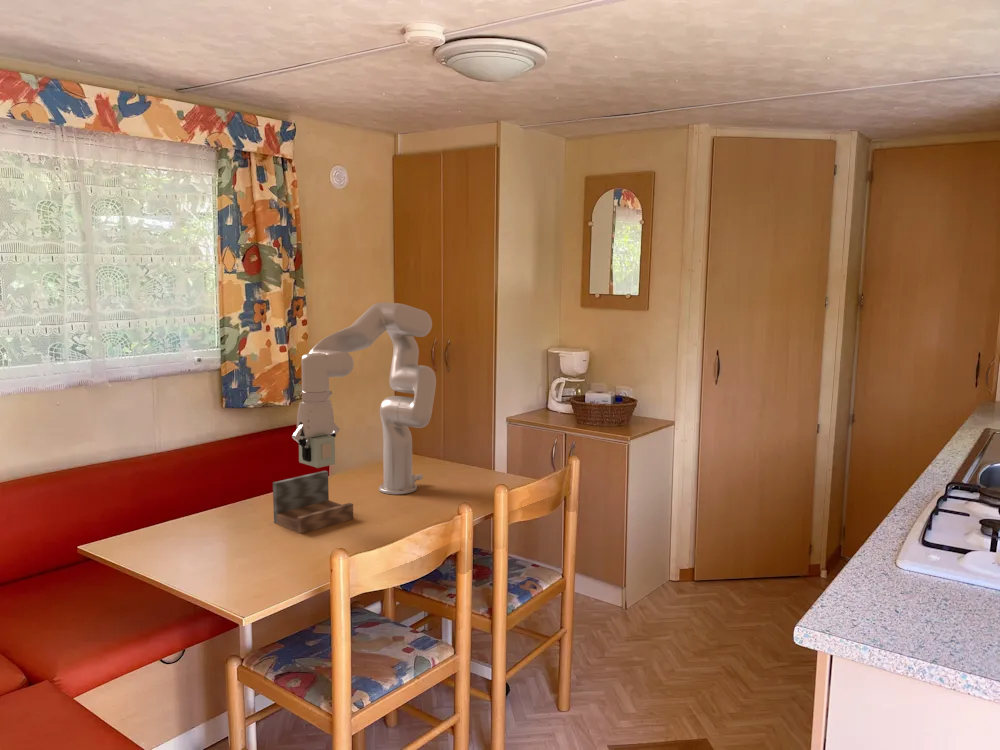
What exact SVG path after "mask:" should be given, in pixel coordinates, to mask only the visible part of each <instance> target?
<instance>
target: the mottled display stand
mask: <svg viewBox="0 0 1000 750" xmlns="http://www.w3.org/2000/svg"><path fill="white" fill-rule="evenodd" d="M272 496H273V501H272V502H273V503H272V504H273V524H274V523H275V524H276V525H279V526H281V527H284V528H286V529H289V530H291V531H293V532H296V533H298V534H300V535H303V534H305V533H309V532H311V531H316V530H320V529H323V528H326V527H329V526H333V525H336V524H339V523H340V524H341V523H343V522H346V521H350V520H353V519H354V504H353V503H351V502H348V503H344V504H341V503H338V502H335V501H332V500H329V497H330V496H329V471H327V470H322V471H316V472H313V473H308V474H303V475H299V476H294V477H291V478H286V479H283V480H278V481H273V482H272Z"/></svg>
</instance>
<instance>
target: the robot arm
mask: <svg viewBox="0 0 1000 750" xmlns="http://www.w3.org/2000/svg"><path fill="white" fill-rule="evenodd" d="M432 320H433V319H432V317H431V316H430V314H429V313H428V311H426V310H423V309H420V308H417V307H414V306H411V305H408V304H404V303H398V302H376V303H373V304H372V305H371V306H370V307H368V308H367V309H366V310H365V311H364V312H363V313H362V315H360V316H359V317H358V318H357V319H356V320H355V321H354V322H353V323H352V324H351V325H349V326H347V327H345V328H343V329H340V330H338V331H336V332H334V333H332V334H329V335H328V336H326V337H323V339H321V340H319V342H317V343H316V345H314V346H313V347H312V349H310V351H309V352H308V353H305V354H303V355H302V356H301V401H300V402H299V403H298V409H297V413H296V414H297V418H296V430H295V431H294V432H293V434H292V435H291V438H292V439H293V440H294V441H296V443H297V444H298V446H299V445H300V446H301V447H302V457H303V460H304V461H308V462H310V461H311V448H309V445H310V438H314V437H319V436H325V435H330V436H333V437H335V438H336V436H337V434H338V433H339V431H340V430H341V429H340V427H339V426H338V425H337V424H336V423H335V416H334V410H333V409H334V408H333V405H332V401H331V400H330V396H332V395H333V392H332V390H330V378H344V377H346V376H348V375H349V374H351V372H352V371H353V369H354V366H355V365H354V364H355V362H354V361H355V360H354V359H353V357H352V356H351V354H349V353H352V352H358V351H361V350H365V349H369V347H371V346H372V345H373V344H374V343H375V342H376V341H377V340H378V339H379V338H380V337H381V336H382V334H384V333H385V332H386V333H387V335H388V337H389V338H390V340H391V343H392V347H393V349H392V351H393V352H392V359H391V365H390V371H389V380H388V382H389V386H390V387H389V388H390V389H392V390H393V391H395V392H398V393H405V394H413V395H414V396H413V397H409V396H400V395H390V396H387V397H386V398H384V399H383V400H382V401H381V403H380V406H379V416H380V420H381V421H380V422H381V426H382V442H383V445H382V448H383V449H382V451H383V453H382V454H383V455H382V459H383V460H382V461H383V462H382V465H383V467H382V468H383V469H382V470H383V483H381V484H380V485H379V486H378V490H379V492H380V493H382V494H387V495H405V494H406V495H407V494H411V493H414V492H415V491H417V489H418V485H417V484H416V482H417V481H420V480H422V479H424V475H423V474H422V473H417V474H415V473H413V436H412V432H411V430H410V428H415V429H416V428H417V429H421V428H424V427H425V428H426V426H428V425H429V423H430V421H431V418H432V414H433V408H434V407H433V406H434V402H435V401H434V400H435V395H436V387H437V376H436V373H435V371H434V370H433V369H432V368H431V367H430V366H427V365H422V364H419V356H420V354H419V353H420V350H419V349H420V348H419V345H418V342H417V341H416V339H415V337H417V338H423V337H426V336H428V335H429V333H430V332H431V331H432V328H433V321H432ZM300 436H302V439H301V438H300Z"/></svg>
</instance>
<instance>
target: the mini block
mask: <svg viewBox="0 0 1000 750" xmlns="http://www.w3.org/2000/svg"><path fill="white" fill-rule="evenodd" d="M300 438H301V439H302V436H300ZM335 440H336V436H335V437H333V436H330V435H325V436H319V437H314V438H310V445H309V448H311V461H310V462H308V461H304V460H303V457H302V447H301V446H300V445H299V444H298V462H299V463H300V464H303V465H307V466H311V467H314V468H316V469H320V468H324V467H328V466H334V465H336V441H335Z"/></svg>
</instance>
